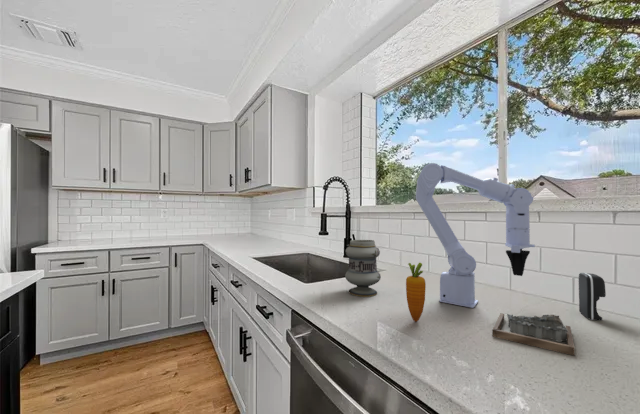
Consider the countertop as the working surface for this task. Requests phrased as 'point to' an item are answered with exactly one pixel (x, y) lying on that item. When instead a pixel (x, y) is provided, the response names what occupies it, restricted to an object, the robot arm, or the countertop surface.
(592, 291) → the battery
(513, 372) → the countertop surface
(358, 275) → the apothecary jar
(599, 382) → the countertop surface
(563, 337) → the egg carton
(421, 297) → the carrot
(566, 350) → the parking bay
